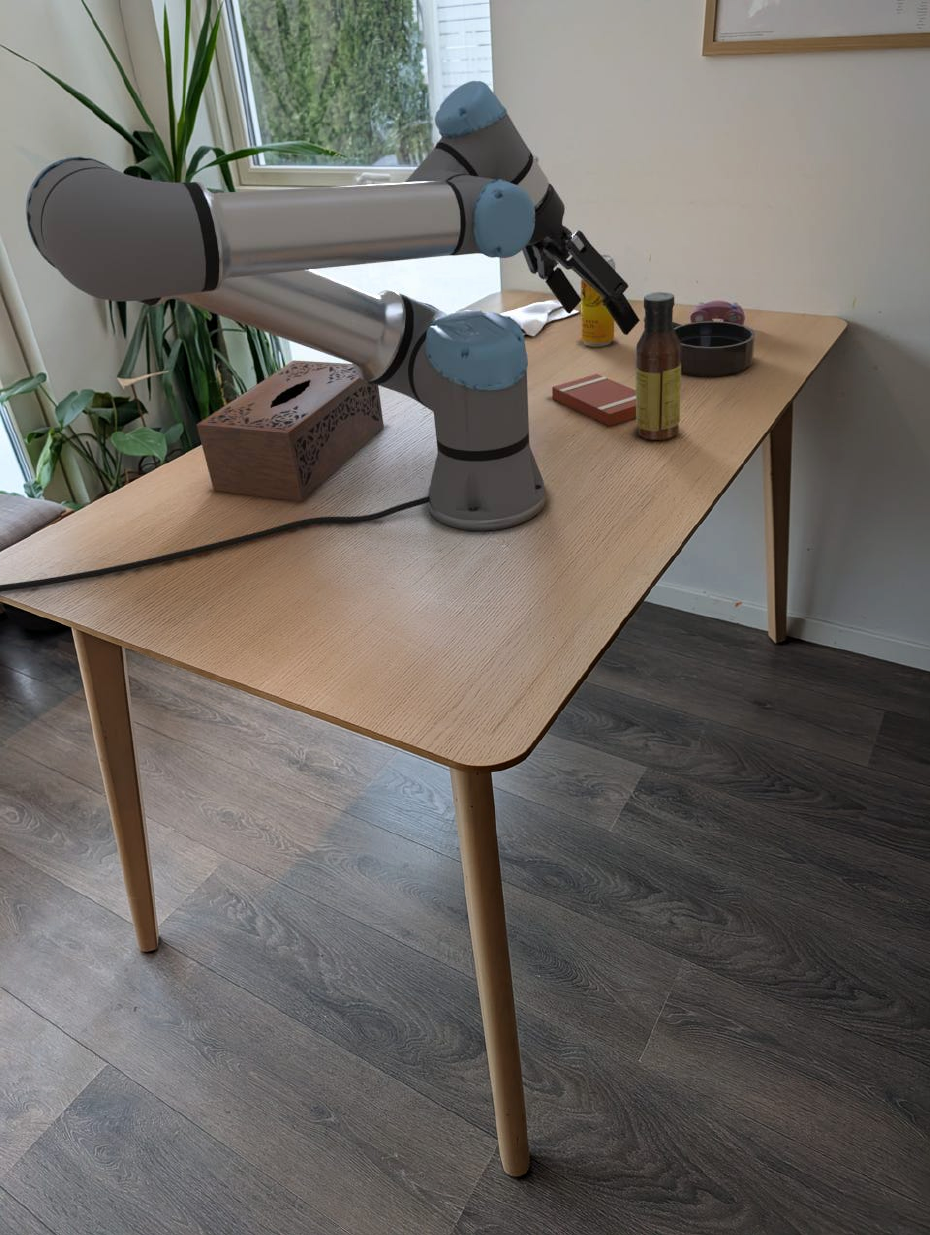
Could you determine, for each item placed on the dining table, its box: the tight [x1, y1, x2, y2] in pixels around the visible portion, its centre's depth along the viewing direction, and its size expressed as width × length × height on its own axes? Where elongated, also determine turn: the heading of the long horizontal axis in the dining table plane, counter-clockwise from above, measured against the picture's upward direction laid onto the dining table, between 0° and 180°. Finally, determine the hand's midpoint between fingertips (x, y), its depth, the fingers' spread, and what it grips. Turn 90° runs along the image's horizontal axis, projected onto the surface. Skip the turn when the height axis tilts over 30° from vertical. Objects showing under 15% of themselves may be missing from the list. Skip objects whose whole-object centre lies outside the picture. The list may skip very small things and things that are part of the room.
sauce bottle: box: [635, 291, 682, 441], centre depth 125 cm, size 7×6×20 cm
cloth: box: [499, 299, 580, 338], centre depth 180 cm, size 26×14×2 cm, turn 141°
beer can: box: [580, 254, 616, 348], centre depth 162 cm, size 6×6×15 cm
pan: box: [674, 320, 756, 377], centre depth 151 cm, size 14×14×5 cm
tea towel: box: [551, 373, 636, 427], centre depth 141 cm, size 9×15×2 cm, turn 30°
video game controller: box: [689, 300, 746, 326], centre depth 165 cm, size 10×5×7 cm, turn 73°
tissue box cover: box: [196, 360, 385, 503], centre depth 131 cm, size 26×14×10 cm, turn 158°
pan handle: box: [643, 316, 682, 328], centre depth 159 cm, size 10×2×2 cm, turn 30°
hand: (602, 316), depth 129 cm, fingers open, 13 cm apart
